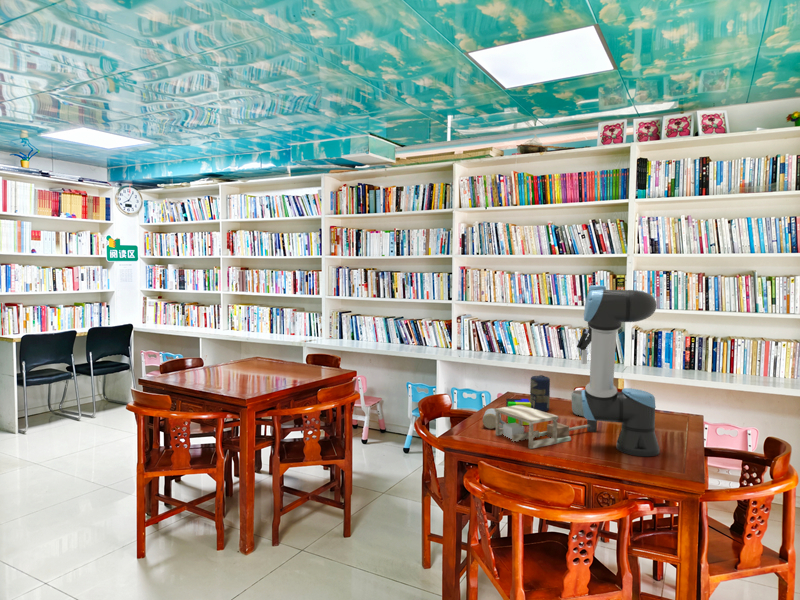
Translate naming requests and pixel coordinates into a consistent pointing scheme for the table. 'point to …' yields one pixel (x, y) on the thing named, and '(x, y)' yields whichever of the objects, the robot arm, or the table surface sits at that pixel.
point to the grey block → (512, 429)
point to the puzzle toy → (513, 403)
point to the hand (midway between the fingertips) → (595, 365)
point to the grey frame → (564, 430)
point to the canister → (540, 392)
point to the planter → (577, 402)
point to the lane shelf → (530, 425)
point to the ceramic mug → (491, 419)
